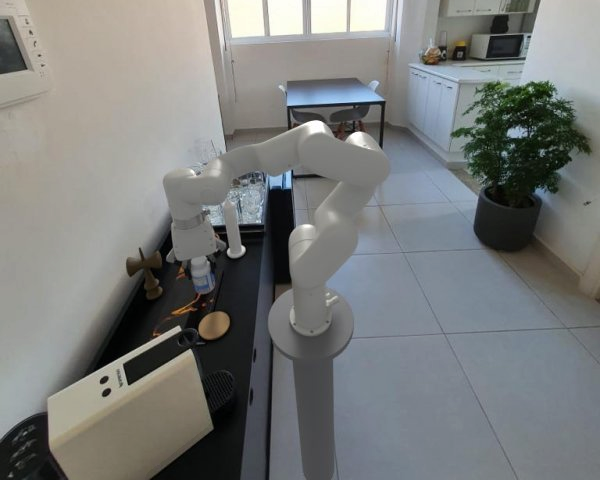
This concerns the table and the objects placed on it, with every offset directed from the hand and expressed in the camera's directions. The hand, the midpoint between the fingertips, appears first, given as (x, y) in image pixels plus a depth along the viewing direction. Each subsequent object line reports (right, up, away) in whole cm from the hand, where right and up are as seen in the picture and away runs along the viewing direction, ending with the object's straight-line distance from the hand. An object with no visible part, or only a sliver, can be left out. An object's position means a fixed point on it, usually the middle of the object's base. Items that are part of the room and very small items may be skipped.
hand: (202, 273), depth 83 cm
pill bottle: (0, -5, +2) cm, 5 cm away
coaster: (+1, -19, +8) cm, 20 cm away
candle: (+2, -6, +38) cm, 38 cm away
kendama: (-22, -15, +20) cm, 34 cm away
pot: (-9, -5, +40) cm, 41 cm away
